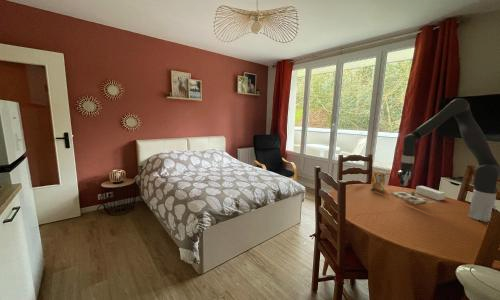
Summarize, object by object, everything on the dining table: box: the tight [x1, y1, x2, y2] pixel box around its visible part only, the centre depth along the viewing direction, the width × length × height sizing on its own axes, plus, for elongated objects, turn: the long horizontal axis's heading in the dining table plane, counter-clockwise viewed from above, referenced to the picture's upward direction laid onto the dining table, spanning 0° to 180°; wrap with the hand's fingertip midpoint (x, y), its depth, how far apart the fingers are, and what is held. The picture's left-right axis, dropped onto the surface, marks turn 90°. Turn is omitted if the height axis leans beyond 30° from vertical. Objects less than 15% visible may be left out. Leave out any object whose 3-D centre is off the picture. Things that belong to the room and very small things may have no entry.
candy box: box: [370, 170, 387, 191], centre depth 175 cm, size 9×4×15 cm, turn 44°
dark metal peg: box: [401, 175, 409, 187], centre depth 159 cm, size 4×4×8 cm
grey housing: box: [415, 185, 446, 201], centre depth 162 cm, size 16×6×6 cm, turn 15°
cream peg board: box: [390, 191, 427, 205], centre depth 157 cm, size 18×10×2 cm, turn 15°
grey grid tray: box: [405, 190, 436, 204], centre depth 159 cm, size 20×7×4 cm, turn 15°
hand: (404, 184), depth 159 cm, fingers closed on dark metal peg, 4 cm apart
